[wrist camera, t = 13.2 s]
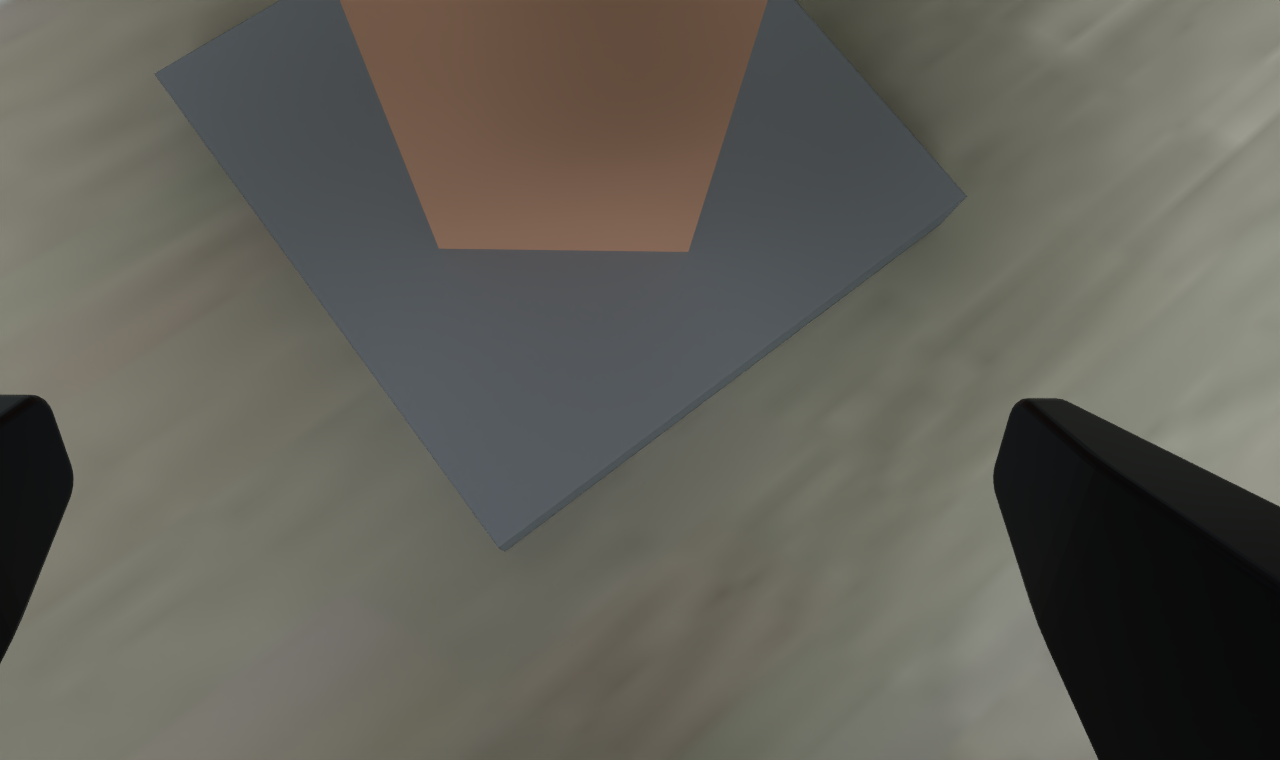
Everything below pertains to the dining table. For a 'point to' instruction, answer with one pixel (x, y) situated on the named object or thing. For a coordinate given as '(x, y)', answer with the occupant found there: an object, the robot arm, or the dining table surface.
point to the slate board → (559, 252)
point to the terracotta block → (558, 114)
